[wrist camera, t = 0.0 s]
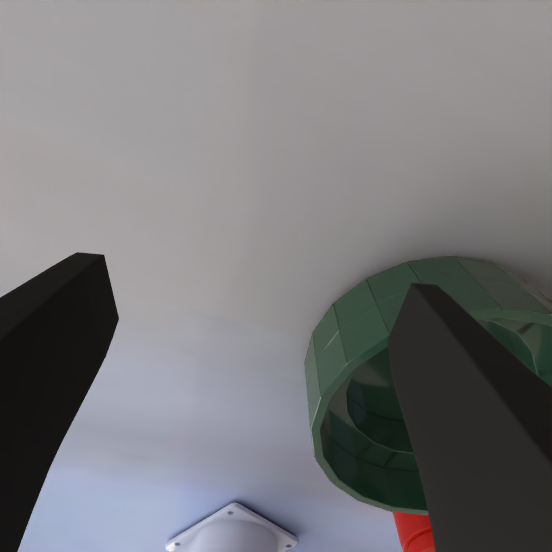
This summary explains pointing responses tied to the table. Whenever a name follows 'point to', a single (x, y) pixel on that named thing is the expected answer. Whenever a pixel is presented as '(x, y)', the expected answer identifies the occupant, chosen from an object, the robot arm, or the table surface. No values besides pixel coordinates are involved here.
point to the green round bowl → (378, 376)
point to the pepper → (414, 532)
